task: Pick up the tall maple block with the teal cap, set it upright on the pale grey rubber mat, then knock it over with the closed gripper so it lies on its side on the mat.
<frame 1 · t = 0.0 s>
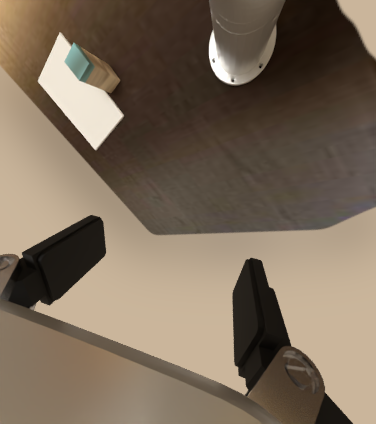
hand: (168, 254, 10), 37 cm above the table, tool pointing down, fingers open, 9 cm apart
block: (110, 79, 40), on the table
mat: (81, 98, 43), on the table
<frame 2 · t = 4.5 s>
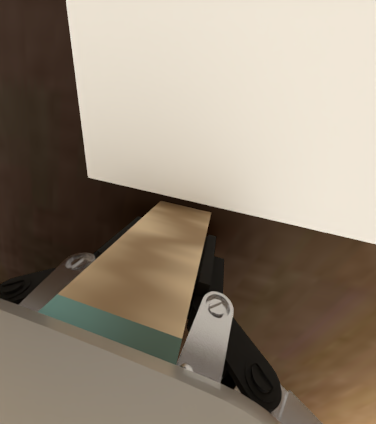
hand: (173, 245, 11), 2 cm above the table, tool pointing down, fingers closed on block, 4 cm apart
block: (182, 228, 13), on the table, touching gripper
mat: (265, 86, 8), on the table
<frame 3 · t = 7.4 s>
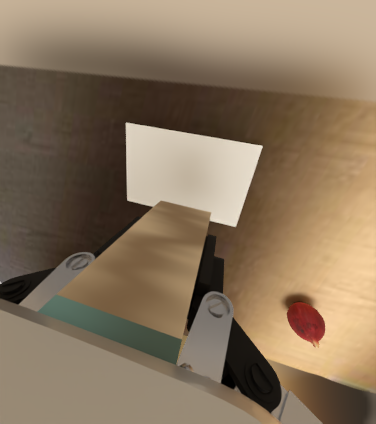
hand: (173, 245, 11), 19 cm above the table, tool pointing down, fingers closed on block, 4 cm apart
block: (182, 228, 13), point 17 cm above the table, touching gripper
onion: (297, 302, 34), on the table
mat: (184, 176, 28), on the table
when the fingers open (4 cm above the table, at t = 10.4 s): block drops 1 cm, resting on mat.
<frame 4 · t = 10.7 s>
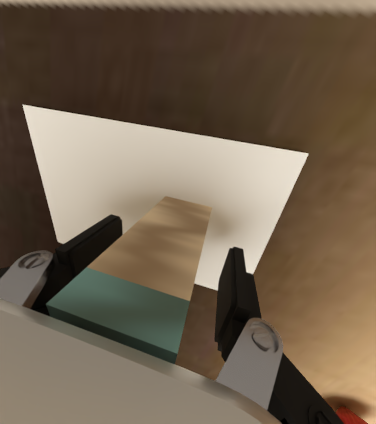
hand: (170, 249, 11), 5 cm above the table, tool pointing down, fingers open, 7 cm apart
block: (184, 222, 14), point 1 cm above the table, touching mat
onion: (341, 404, 21), on the table
mat: (146, 209, 15), on the table
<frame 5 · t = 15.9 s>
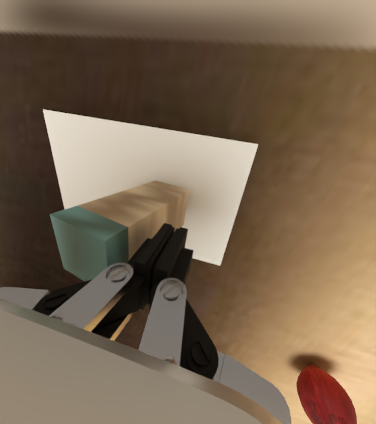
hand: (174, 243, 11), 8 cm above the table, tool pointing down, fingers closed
block: (170, 202, 17), point 1 cm above the table, tilted 11°, touching gripper, mat
onion: (310, 363, 24), on the table
mat: (141, 192, 19), on the table
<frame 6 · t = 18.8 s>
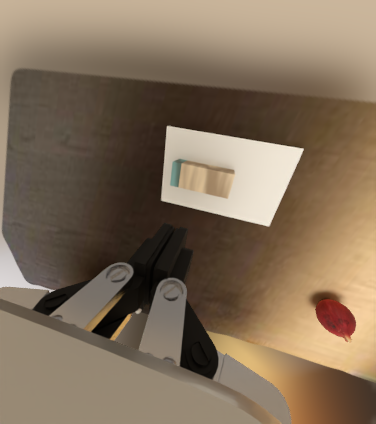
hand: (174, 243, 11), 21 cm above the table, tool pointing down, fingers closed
block: (231, 184, 27), point 3 cm above the table, tilted 90°, touching mat
onion: (324, 299, 35), on the table
mat: (221, 178, 29), on the table
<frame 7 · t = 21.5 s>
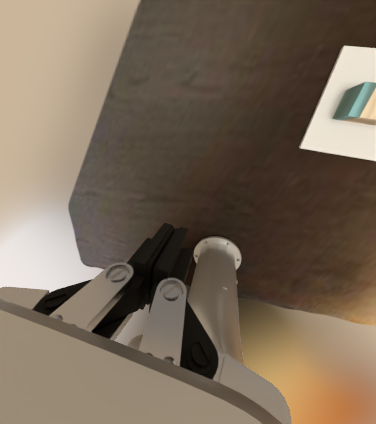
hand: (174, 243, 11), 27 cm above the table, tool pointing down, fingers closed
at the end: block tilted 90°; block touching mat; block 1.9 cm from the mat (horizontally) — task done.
